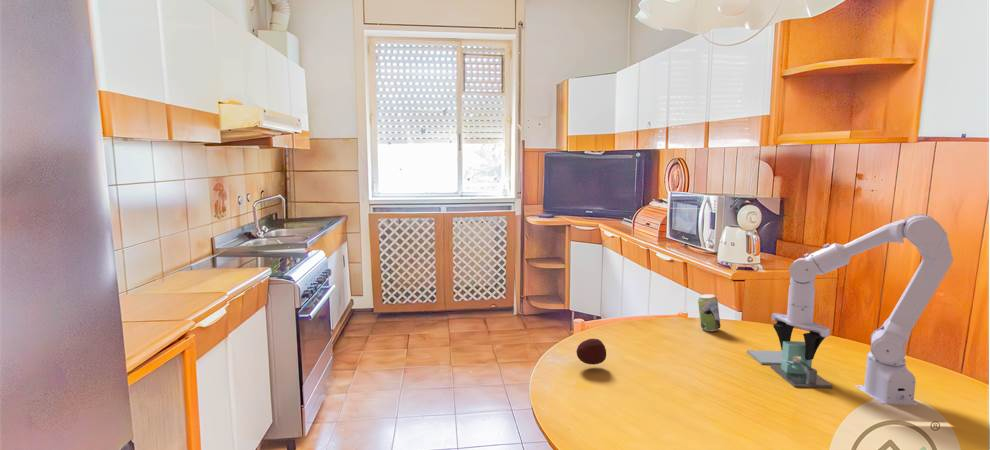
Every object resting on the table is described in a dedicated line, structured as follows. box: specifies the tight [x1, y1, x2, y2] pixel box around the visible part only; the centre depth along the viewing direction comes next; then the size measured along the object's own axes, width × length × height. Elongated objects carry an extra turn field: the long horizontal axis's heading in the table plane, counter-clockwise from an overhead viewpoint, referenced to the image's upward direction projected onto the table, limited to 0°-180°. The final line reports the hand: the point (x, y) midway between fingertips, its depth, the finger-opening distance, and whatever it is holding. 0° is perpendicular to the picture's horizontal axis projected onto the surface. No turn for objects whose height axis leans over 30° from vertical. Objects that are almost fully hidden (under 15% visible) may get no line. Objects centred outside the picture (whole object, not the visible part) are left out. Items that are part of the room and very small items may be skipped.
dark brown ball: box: [576, 338, 607, 365], centre depth 134 cm, size 7×8×7 cm
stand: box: [770, 356, 833, 389], centre depth 125 cm, size 12×9×4 cm
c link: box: [781, 340, 813, 374], centre depth 127 cm, size 3×6×8 cm, turn 86°
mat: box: [746, 349, 799, 366], centre depth 138 cm, size 9×12×1 cm
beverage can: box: [697, 293, 721, 332], centre depth 162 cm, size 6×7×12 cm
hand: (796, 354), depth 127 cm, fingers open, 6 cm apart
